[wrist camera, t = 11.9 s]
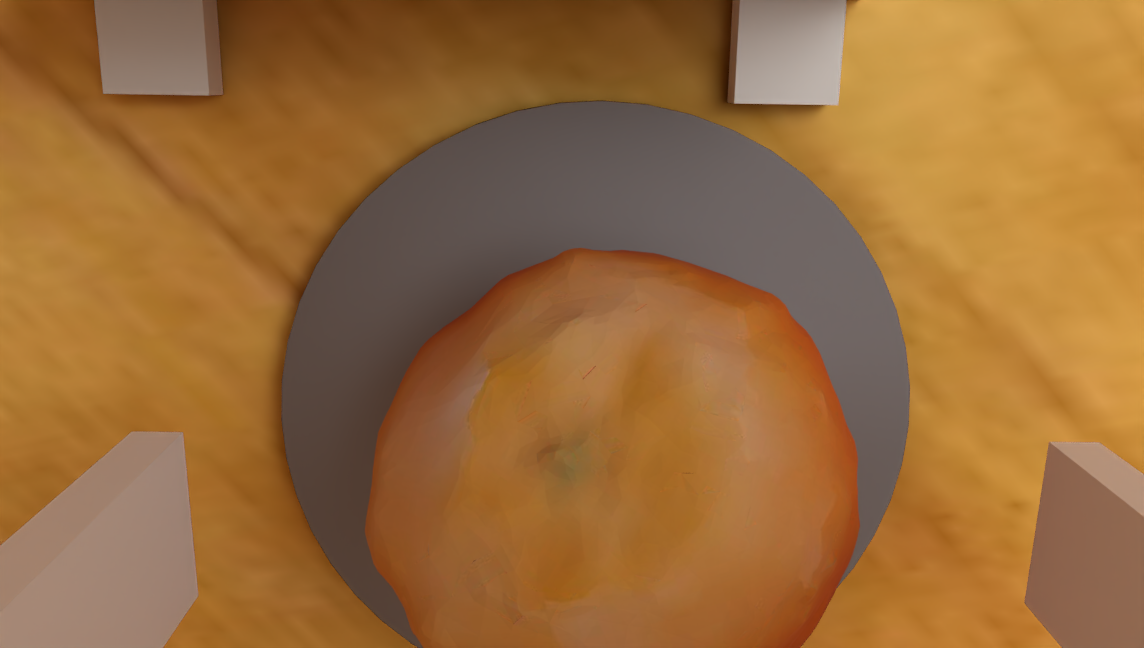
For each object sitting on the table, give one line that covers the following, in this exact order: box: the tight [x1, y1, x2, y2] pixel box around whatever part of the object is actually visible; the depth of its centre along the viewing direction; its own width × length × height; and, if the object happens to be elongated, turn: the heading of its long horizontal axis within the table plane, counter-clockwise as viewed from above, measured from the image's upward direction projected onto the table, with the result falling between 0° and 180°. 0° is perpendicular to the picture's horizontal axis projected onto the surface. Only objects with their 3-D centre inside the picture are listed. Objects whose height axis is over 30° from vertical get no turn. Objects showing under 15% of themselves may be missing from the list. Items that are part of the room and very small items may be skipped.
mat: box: [282, 101, 910, 648], centre depth 21 cm, size 13×13×1 cm
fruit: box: [365, 248, 860, 648], centre depth 18 cm, size 8×8×8 cm
